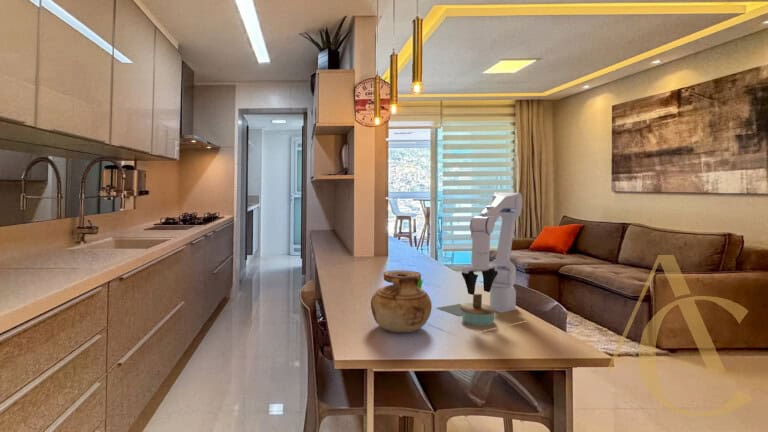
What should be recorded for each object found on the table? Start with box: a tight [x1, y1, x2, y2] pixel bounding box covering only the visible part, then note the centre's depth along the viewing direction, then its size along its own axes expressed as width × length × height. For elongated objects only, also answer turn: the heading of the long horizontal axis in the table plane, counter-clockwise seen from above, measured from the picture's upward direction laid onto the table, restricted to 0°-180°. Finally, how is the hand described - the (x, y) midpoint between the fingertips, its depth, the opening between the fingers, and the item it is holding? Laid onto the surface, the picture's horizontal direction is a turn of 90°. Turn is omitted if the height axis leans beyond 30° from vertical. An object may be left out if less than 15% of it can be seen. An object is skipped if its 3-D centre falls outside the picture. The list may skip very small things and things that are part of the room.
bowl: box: [461, 311, 495, 327], centre depth 138 cm, size 10×10×4 cm
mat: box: [436, 303, 463, 317], centre depth 152 cm, size 12×12×1 cm
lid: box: [460, 292, 495, 314], centre depth 139 cm, size 11×11×5 cm
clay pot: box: [370, 269, 433, 334], centre depth 129 cm, size 19×19×20 cm
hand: (479, 292), depth 138 cm, fingers open, 7 cm apart
